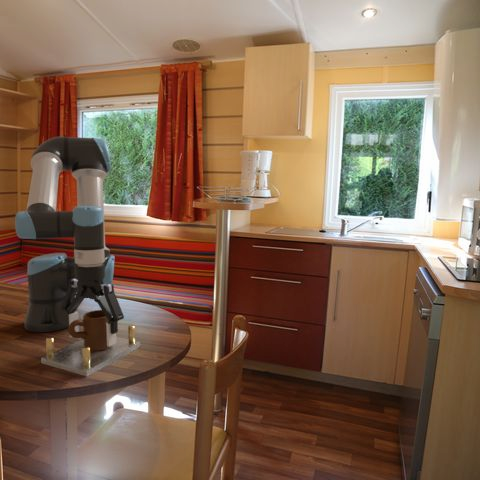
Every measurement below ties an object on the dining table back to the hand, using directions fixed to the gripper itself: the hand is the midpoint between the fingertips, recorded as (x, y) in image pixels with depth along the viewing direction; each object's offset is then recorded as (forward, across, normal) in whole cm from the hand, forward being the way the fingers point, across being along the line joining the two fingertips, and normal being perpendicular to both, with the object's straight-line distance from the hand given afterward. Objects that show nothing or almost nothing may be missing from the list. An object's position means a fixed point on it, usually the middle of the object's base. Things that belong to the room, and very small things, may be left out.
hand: (92, 340), depth 109 cm
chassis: (+4, 0, 0) cm, 4 cm away
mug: (+3, -1, 0) cm, 3 cm away
